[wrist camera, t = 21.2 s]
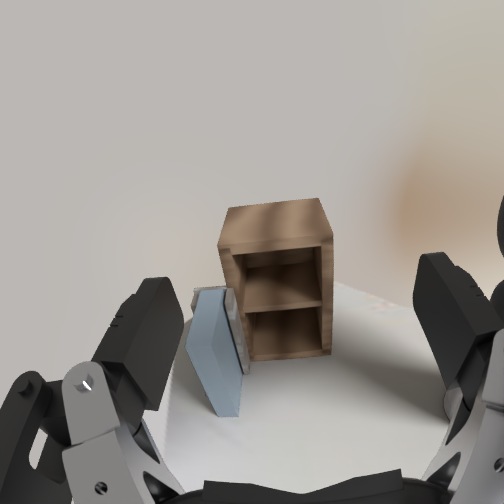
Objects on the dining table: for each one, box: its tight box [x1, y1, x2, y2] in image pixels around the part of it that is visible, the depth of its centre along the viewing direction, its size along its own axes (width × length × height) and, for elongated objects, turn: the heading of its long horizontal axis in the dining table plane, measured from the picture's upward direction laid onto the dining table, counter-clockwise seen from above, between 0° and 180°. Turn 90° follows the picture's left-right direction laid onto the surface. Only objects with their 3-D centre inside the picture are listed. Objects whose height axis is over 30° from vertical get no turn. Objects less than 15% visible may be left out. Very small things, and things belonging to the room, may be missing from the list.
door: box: [185, 289, 243, 417], centre depth 39 cm, size 4×10×16 cm, turn 177°
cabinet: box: [191, 198, 334, 374], centre depth 46 cm, size 19×15×22 cm
